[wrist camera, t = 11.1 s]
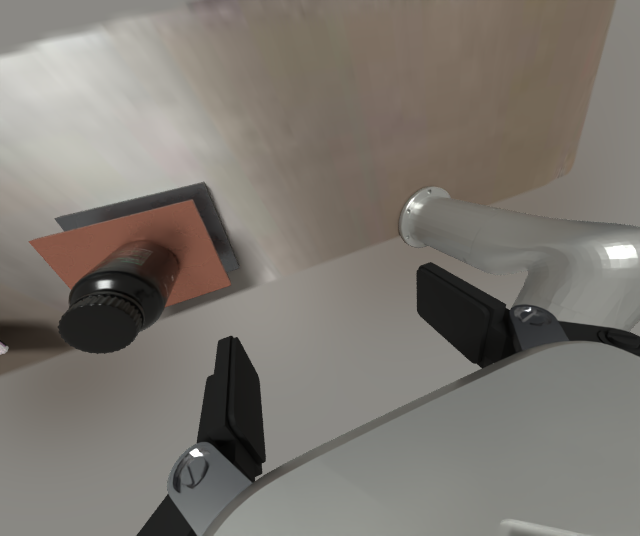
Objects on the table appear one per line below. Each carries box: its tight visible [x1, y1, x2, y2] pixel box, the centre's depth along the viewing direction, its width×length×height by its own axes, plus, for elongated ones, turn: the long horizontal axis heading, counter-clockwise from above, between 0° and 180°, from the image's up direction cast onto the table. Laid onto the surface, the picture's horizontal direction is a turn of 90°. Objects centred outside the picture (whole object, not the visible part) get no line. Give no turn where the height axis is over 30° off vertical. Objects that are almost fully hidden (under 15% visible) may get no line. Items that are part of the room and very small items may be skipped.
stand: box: [29, 182, 239, 307], centre depth 32 cm, size 18×14×8 cm
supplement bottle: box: [58, 241, 179, 354], centre depth 23 cm, size 7×7×12 cm
